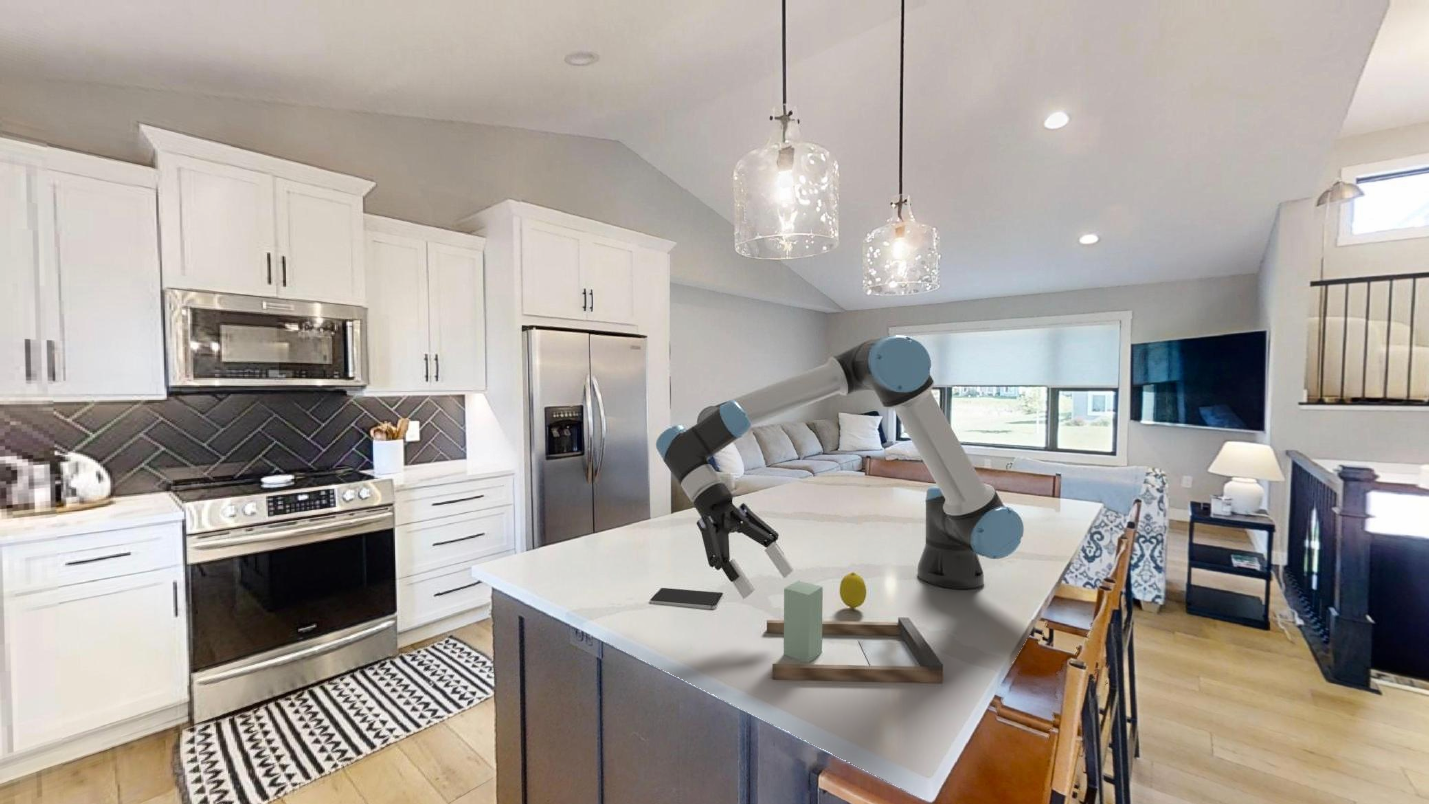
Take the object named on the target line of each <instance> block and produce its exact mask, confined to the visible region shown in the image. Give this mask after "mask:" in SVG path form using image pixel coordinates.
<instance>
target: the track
mask: <svg viewBox="0 0 1429 804" xmlns="http://www.w3.org/2000/svg"><path fill="white" fill-rule="evenodd" d="M766 633H767V634H784V619H783V620H781V619H780V620H778V619H776V620H774V619H766ZM822 635H857V636H858V635H859V636H860V635H863V636H865V635H866V636H899V637H900V638H901V639H902V640H865V639H864V640H862V639H861V640H858V643H859V645H860V647H861V650H862V651H863V653H864V656H865V658H866V660H867V662H868V665H866V664H865V665H864V664H863V665H861V664H860V665H858V664H857V665H854V664H850V665H849V664H819V663H817V664H815V663H814V664H813V663H812V664H810V663H806V664H805V663H771V664H772V665H771V666H772V668H771V669H772V672H771V673H772V674H771V675H772V680H792V681H793V680H794V681H795V680H797V681H801V680H802V681H837V682H838V681H841V682H843V681H844V682H849V681H850V682H889V683H892V682H893V683H928V684H929V683H933V684H934V683H937V684H942V683H944V676H943V674H944V664H943V663H942V661H941V660H940V659H939V657H938V656H937V654H936V653H935V652H934V650H933V649H932V648H931V647H930V646H931V645H929V643H928V642H927V641H926V640H925V638H924V637H923V635H922V634H921V632H920V631H919V630H918V628H917V627H916V626H915V624H914V623H913V622H912V620H911V618H910V617H903V616H902V617H897V622H894V621H893V622H890V621H884V622H883V621H844V620H843V621H842V620H841V621H834V620H830V621H829V620H826V621H825V620H822Z"/></svg>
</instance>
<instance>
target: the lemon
mask: <svg viewBox="0 0 1429 804" xmlns="http://www.w3.org/2000/svg"><path fill="white" fill-rule="evenodd" d="M839 596H840V598H841V599H840V600H841V601H842V602H843V603H844V604H845V605H846V607H848V608H849V609H851V610H855V609H856V608H858V607H861V606H862V605H863V604H864V602H865V600H866V597H867V587H866V583H865V580H864V579H863V578H862V577H861V575H859V574H858V573H857V574H856V573H855V571H854V572H851V573H847V574H846V575H845V576H843V578H842V579H841V581H840V584H839Z"/></svg>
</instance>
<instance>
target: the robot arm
mask: <svg viewBox="0 0 1429 804" xmlns="http://www.w3.org/2000/svg"><path fill="white" fill-rule="evenodd" d="M931 368H932V361H931V356H930V354H929V352H928V350H927V349H926V347H925V346H924V345H923V344H922V343H921V342H920V341H918V340H917V339H915V338H913V337H909V336H906V335H896V334H894V335H887V336H884V337H881V338H876V339H875V338H874V339H870V340H865V341H864V342H861V343H860V344H857V345H856V346H853V347H852V348H850V349H848V350H845V351H843V352H842V353H839V354H836V355H834V356H832V357H829V358H828V360H827V363H825V364H822V365H820V366H819V365H818V366H817V367H814V368H811V369H809V370H807V371H806V370H805V371H804V372H800V373H798V374H796V375H792V376H790V377H788V378H785V379H783V380H779V381H777V382H775V383H772V384H770V385H767V386H763V387H761V388H759V389H756V390H753V391H751V392H748V393H745V394H742V395H740V396H738V397H734V398H732V399H729V400H727V401H724V402H721V403H719V404H716V405H710V406H707V407H704V408H703V409H702V410H701V411H700V412H699V414H698V416H697V419H696V423H695V424H694V425H692V426H691V427H689V428H688V429H687V428H686V427H685V426H684V425H681V424H677V425H675V424H674V426H671V427H669V428H667V429H666V430H664V431H663V432H662V433H661V434H660V435H659V436H658V437H657V439H656V443H655V447H656V449H657V452H658V453H659V455H660V457H661V459H662V461H663V462H664V464H665V465H666V466H667V468H668V469H669V471H670V472H671V474H672V475H673V477H674V478H675V480H676V481H677V483H678V484H679V485H680V487H682V488H681V489H682V490H683V491H684V493H685V494H686V496H687V498H688V500H690V502H692V503H693V507H694V509H696V511H697V512H698V515H699V516H700V518H699V519H698V520H697V522H696V526H697V527H698V529H699V531H700V533H701V537H702V543H703V547H704V550H705V554H706V558H707V562H708V563H707V564H708V565H709V567H710V568H715V570H717V571H719V570H721V569H722V571H723V572H724V574H725V576H726V578H727V579H728V580H729V581H730V582H731V583H732V584H733V585H734V587H735V589H736V590H737V592H738V593H739V595H740V596H741V597H742V599H743V600H744V599H746V598H748V597H749V596H750V595H751V594H752V593H753V592H754V591H755V590H756V589H755V588H754V586H753V584H752V583H751V581H750V580H749V578H748V577H747V576H746V574H745V573H744V571H743V569H742V568H741V567H740V565H739V564H738V562H737V560H736V559H735V558H730V557H731V556H730V555H731V553H730V539H729V538H730V537H729V535H730V534H731V533H732V534H733V533H738V534H743V535H745V536H746V537H748V538H749V539H751V540H753V541H754V542H756V543H758V544H759V545H761V546H763V547H764V548H765V549H764V552H765V553H766V555H767V556H768V558H769V559H770V561H772V563H773V564H774V565H773V566H775V568H776V569H777V570H778V572H779V573H780V574H781V576H782V577H783V579H785V578H787V577H788V576H789V575H790V574H791V573H792V572H793V571H795V567H793V565H792V564H791V563H790V561H789V559H788V558H787V557H786V556H785V554H784V552H783V550H782V549H781V548H780V546H779V545H778V543H777V540H779V533H778V532H777V531H775V529H773V528H772V527H771V526H770V525H769V524H767V522H765V521H763V519H762V518H760V517H759V516H758V515H757V514H755V513H754V512H753V511H752V510H751V509H750V507H749V506H748V505H747V504H746V503H745V502H742V504H740V505H739V506H738V507H737V506H736V505H735V504H733V499H734V496H733V494H732V493H731V491H730V490H729V488H728V487H727V485H726V483H723V482H722V478H721V476H720V475H719V474H718V472H717V471H716V470H715V468H714V467H713V466H712V464H711V463H710V462H709V460H710V458H712V457H713V456H715V455H716V454H717V453H719V452H721V451H722V450H723V449H725V448H726V447H728V446H729V445H730V444H733V442H735V441H736V440H738V439H740V438H742V437H743V435H745V434H746V433H747V432H748V431H749V430H750V429H751V428H752V427H753V426H755V425H759V424H761V423H763V422H766V421H769V420H771V419H774V418H777V417H779V416H782V415H785V414H787V413H790V412H793V411H796V410H799V409H800V408H803V407H806V406H808V405H811V404H813V403H817V402H819V401H822V400H824V399H827V398H829V397H833V396H835V395H838V394H839V395H841V396H847V395H850V394H852V393H856V392H862V391H874V393H875V394H876V395H877V397H878V399H879V400H880V403H881V405H882V406H883V407H884V408H885V409H887V410H892V411H894V412H895V414H896V416H897V418H898V419H899V421H900V422H901V424H902V426H903V428H904V430H905V431H906V434H907V435H908V437H909V439H910V441H911V442H912V443H913V445H914V447H915V449H916V450H917V453H918V454H919V456H920V458H921V459H922V461H923V463H924V465H925V466H926V468H927V470H928V471H929V473H930V475H931V476H932V479H933V481H934V482H935V484H936V485H933V486H930V487H928V488H927V490H926V495H925V496H926V497H925V544H924V548H923V550H922V553H921V556H920V558H919V561H918V564H917V576H918V578H919V579H920V580H922V581H923V582H926V583H928V584H930V585H934V586H938V587H942V588H946V589H947V588H948V589H956V590H971V589H976V588H980V587H981V586H983V585H984V581H985V580H984V577H985V575H984V571H983V568H982V564H981V561H980V558H979V556H981V557H985V558H987V559H993V560H999V559H1003V558H1006V557H1008V556H1010V555H1011V554H1013V553H1014V552H1015V551H1016V550H1017V549H1018V548H1019V546H1020V545H1021V542H1022V541H1021V540H1022V538H1023V536H1024V531H1025V529H1024V522H1023V520H1022V517H1021V516H1020V515H1019V514H1018V512H1016V511H1015V510H1014V509H1013V508H1011V507H1010V506H1005V504H1004V503H1003V502H1002V500H1001V498H1000V496H999V494H998V493H997V491H996V489H995V487H994V486H993V485H992V484H991V485H990V484H987V483H985V482H984V483H983V481H982V479H981V478H980V476H979V473H977V471H976V469H975V467H974V465H973V463H972V461H971V460H970V459H969V457H968V455H967V453H966V451H965V449H964V447H963V445H962V444H961V442H960V441H959V438H958V437H957V435H956V433H955V431H954V430H953V427H952V426H951V425H950V423H949V421H948V419H947V418H946V416H945V414H944V412H943V410H942V408H941V407H940V405H939V403H938V401H937V400H936V398H935V396H934V394H933V392H932V390H933V388H934V384H935V381H934V379H933V377H932V375H931Z"/></svg>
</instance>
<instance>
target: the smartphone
mask: <svg viewBox="0 0 1429 804" xmlns="http://www.w3.org/2000/svg"><path fill="white" fill-rule="evenodd" d="M723 598H724V592H719V591H708V590H707V591H706V590H695V589H680V588H670V587H669V588H667V587H660V588H659V589H658V591H657V592H656V593H655V594H653V595H652V597H651V599H649V603H651V604H654V605H656V604H657V605H665V606H677V607H687V608H695V609H706V610H707V609H708V610H717V608H718V606H719V605H720V604H721V601H722V600H723Z"/></svg>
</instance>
